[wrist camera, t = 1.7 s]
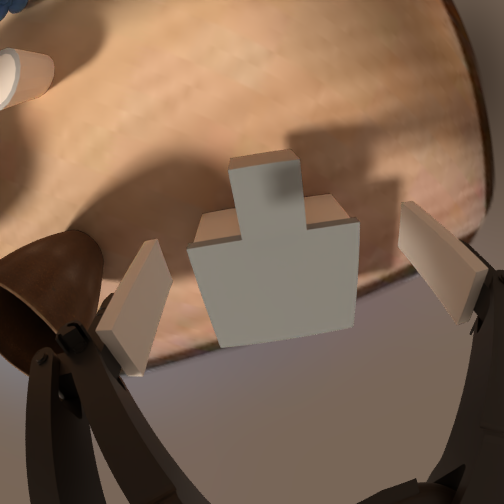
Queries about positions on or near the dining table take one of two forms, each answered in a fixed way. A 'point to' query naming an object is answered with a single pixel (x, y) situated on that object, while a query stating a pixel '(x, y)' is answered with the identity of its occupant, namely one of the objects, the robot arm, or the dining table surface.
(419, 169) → the dining table surface
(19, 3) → the grapes
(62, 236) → the plant pot
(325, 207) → the tub
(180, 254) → the dining table surface
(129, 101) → the dining table surface
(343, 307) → the lid
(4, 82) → the beige cup
